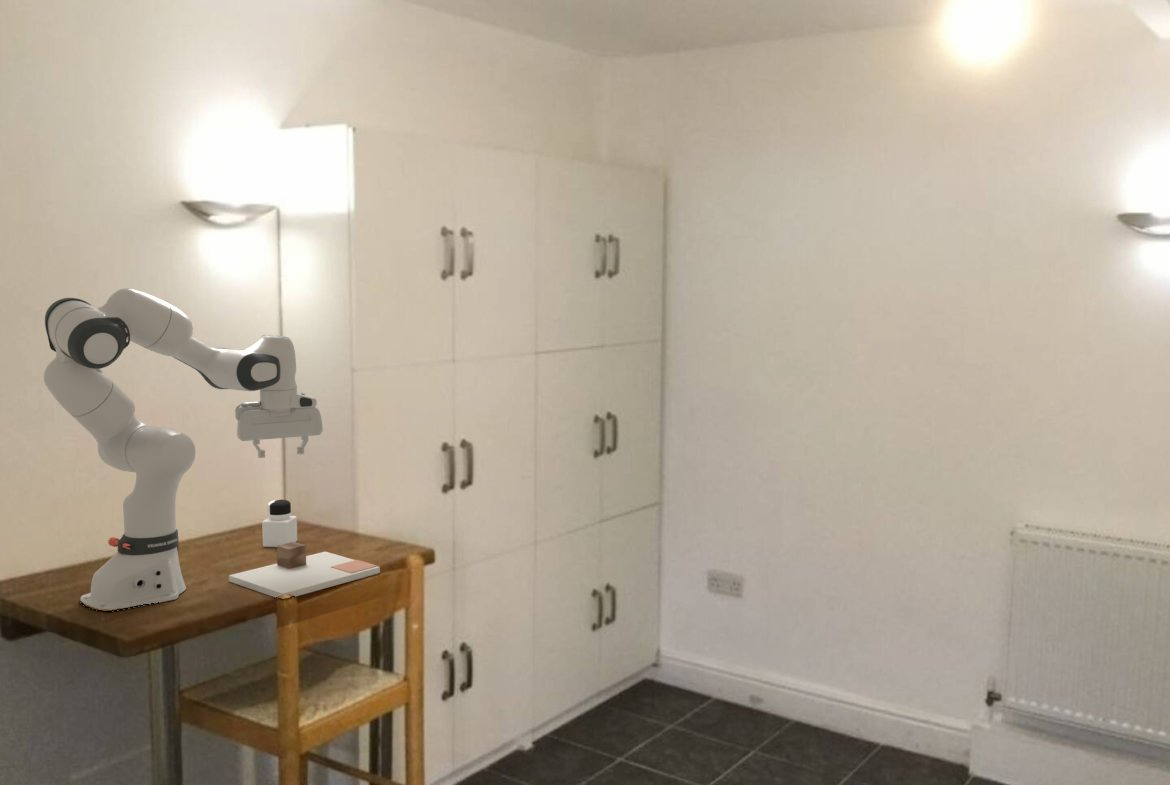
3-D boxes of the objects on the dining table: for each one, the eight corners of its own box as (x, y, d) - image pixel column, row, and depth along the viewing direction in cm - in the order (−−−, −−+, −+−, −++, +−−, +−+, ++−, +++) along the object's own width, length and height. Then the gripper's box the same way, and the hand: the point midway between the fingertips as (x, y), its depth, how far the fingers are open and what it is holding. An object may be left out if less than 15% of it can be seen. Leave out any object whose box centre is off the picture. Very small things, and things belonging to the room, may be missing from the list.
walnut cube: (289, 569, 262) (288, 549, 261) (277, 565, 265) (276, 545, 264) (306, 564, 266) (305, 545, 265) (294, 561, 269) (293, 541, 268)
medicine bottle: (297, 541, 294) (296, 498, 292) (288, 547, 287) (286, 504, 285) (272, 540, 294) (271, 497, 293) (262, 547, 287) (261, 503, 286)
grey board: (282, 600, 242) (282, 592, 242) (229, 581, 256) (228, 574, 256) (379, 572, 264) (379, 566, 264) (325, 557, 278) (325, 550, 278)
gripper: (236, 404, 255) (239, 461, 256) (322, 399, 263) (325, 454, 265) (233, 401, 260) (235, 457, 262) (317, 396, 269) (319, 450, 271)
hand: (281, 455), depth 264 cm, fingers open, 8 cm apart
